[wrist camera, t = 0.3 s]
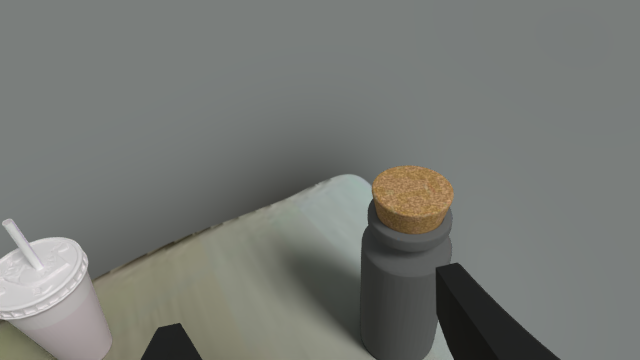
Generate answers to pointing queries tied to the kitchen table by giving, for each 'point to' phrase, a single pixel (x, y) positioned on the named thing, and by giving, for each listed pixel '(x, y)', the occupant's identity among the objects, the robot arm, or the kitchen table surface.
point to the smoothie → (53, 297)
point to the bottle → (404, 261)
